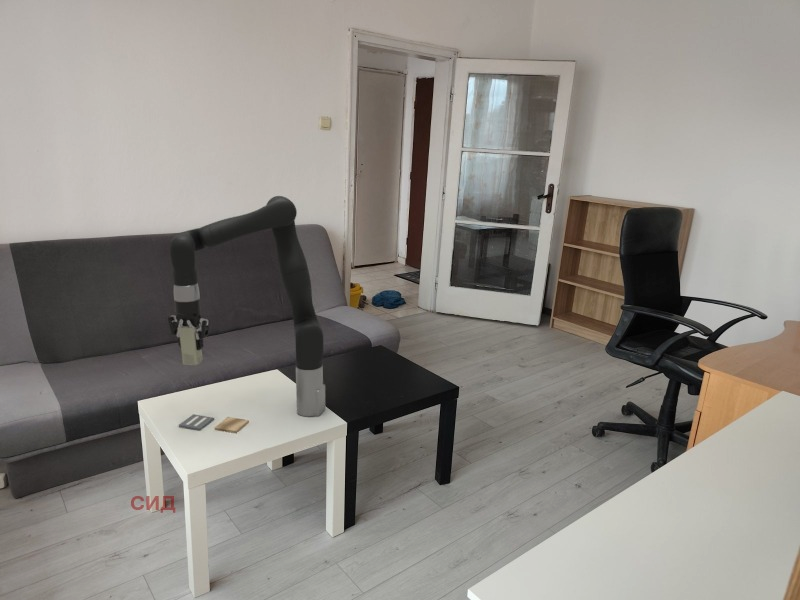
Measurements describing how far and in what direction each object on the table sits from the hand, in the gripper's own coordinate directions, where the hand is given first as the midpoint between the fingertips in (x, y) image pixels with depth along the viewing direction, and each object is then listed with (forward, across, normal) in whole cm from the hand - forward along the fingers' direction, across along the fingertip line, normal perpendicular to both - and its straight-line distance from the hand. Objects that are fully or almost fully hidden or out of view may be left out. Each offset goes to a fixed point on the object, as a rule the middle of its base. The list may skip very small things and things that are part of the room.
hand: (191, 348), depth 179 cm
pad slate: (+27, 0, 0) cm, 27 cm away
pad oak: (+27, -12, -2) cm, 29 cm away
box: (+5, 0, 0) cm, 5 cm away
